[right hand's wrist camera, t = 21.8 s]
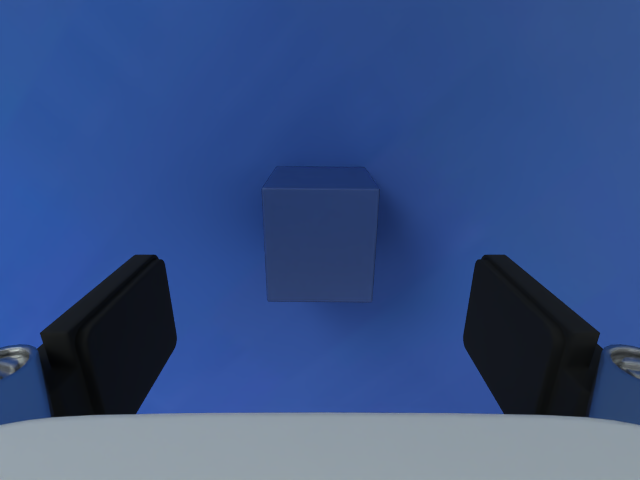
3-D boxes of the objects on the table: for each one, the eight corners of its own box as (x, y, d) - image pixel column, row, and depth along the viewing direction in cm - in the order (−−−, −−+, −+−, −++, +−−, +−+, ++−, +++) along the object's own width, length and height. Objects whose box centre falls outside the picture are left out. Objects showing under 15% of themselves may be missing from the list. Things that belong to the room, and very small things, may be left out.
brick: (279, 256, 20) (266, 302, 16) (275, 166, 19) (261, 187, 14) (360, 257, 21) (372, 303, 16) (365, 167, 19) (380, 188, 14)
